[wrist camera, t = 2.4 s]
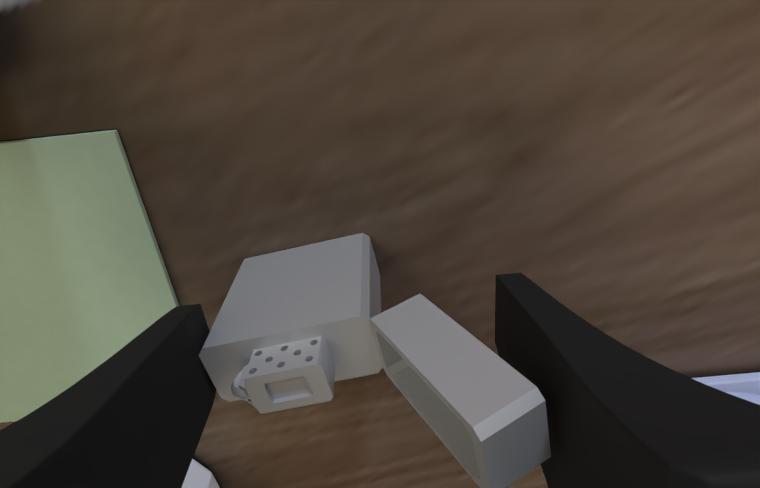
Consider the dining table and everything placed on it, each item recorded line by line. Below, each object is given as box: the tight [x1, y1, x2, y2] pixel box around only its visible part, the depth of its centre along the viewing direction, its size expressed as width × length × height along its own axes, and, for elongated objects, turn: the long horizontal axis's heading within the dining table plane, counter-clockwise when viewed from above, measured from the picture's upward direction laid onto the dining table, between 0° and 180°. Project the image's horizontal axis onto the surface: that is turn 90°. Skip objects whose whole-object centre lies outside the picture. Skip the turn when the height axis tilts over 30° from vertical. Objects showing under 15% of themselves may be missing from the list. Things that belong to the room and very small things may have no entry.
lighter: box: [199, 233, 551, 488], centre depth 12 cm, size 7×2×8 cm, turn 103°
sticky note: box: [0, 130, 179, 423], centre depth 15 cm, size 8×10×1 cm
